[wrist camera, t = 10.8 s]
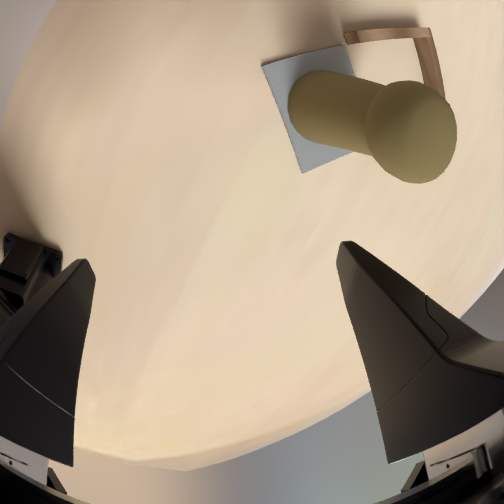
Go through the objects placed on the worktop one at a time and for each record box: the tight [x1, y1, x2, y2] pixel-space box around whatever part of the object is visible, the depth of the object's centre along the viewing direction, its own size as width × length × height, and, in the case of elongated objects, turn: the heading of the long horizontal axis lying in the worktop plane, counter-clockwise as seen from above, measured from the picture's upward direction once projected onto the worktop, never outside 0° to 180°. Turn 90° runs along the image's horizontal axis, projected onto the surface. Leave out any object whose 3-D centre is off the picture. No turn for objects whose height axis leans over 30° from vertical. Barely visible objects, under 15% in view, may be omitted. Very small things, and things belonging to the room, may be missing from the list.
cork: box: [287, 70, 457, 183], centre depth 13 cm, size 6×6×11 cm
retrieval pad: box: [261, 45, 355, 173], centre depth 18 cm, size 7×9×1 cm
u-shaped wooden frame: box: [343, 27, 446, 100], centre depth 17 cm, size 9×11×2 cm
